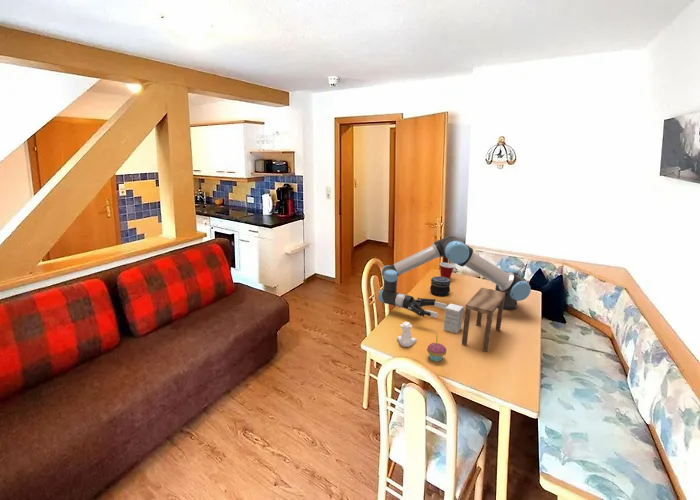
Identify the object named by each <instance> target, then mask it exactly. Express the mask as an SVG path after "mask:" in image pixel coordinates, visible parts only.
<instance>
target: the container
mask: <svg viewBox="0 0 700 500" xmlns="http://www.w3.org/2000/svg"><path fill="white" fill-rule="evenodd" d="M430 281H431V282H430V288H429V289H430V293H431V294H432V295H433V296H435V297H436V296H437V297H448V295H449V293H450V291H451V287H450V286H451V283H452V281H451V278H450V279H448V278H446V277H441V275H440V276H438V275H437V276H436V275H435V276H433V277H432V278H431V279H430Z"/></svg>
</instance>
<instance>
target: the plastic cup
mask: <svg viewBox="0 0 700 500" xmlns="http://www.w3.org/2000/svg"><path fill="white" fill-rule="evenodd" d="M455 267H456V266H455V265H454V263H450V262H439V271H440V272H439V273H440V276H441V277H446V278H448V279H450V280H451V277H452V273H453V270H454V268H455Z"/></svg>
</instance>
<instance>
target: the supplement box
mask: <svg viewBox="0 0 700 500" xmlns="http://www.w3.org/2000/svg"><path fill="white" fill-rule="evenodd" d="M444 310H445V311H444V320H443V322H444V323H443V331H446V332H449V331H450V332H449V333H453V334H458V333H459V332H460V331H461V329H462V323H463V312H464V306H462V305H459V304H454V303H449V304H448V305H446V309H444Z"/></svg>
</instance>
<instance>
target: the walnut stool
mask: <svg viewBox="0 0 700 500" xmlns="http://www.w3.org/2000/svg"><path fill="white" fill-rule="evenodd" d="M504 299H505V292H501V291H496V290H495V289H491V288H486V287H481V288H480V289H479V290H478V291H477V292H476V293H475V294H474V295H473V296H472V297H471V299H470V300H469V301H467V303H466V304H465V307H464V308H465V311H464V318H463V319H464V320H463V326H462V327H463V328H462V337H461V345H463V346H465V347H466V346H467V345H468V337H469V330H470V329H469V328H470V321H471V320H470V319H471V312H472V311H473V312H476V313H477V315H476V322H475V326H477V327H480V326H481V325H482V317H483V314H486V320H485V322H486V323H485V328H484V336H483V345H482V352H485V353H488V351H489V347H490V346H489V344H490V338H491V330H492V324H493V322H492V321H493V316H494V312H496V310H497V315H496V316H497V317H496V323H495V328H494V329H495V331H496V332H501V326H502V320H503V319H502V318H503V311H504V309H503V306H504ZM498 305H499V307H498ZM497 307H498V308H497Z"/></svg>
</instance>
